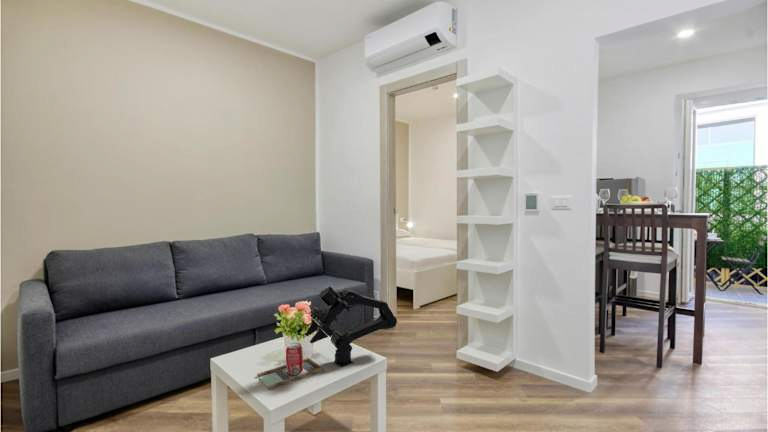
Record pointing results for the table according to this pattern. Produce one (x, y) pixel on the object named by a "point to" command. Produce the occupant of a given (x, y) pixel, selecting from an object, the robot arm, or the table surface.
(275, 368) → the trap lane
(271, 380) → the pad
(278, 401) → the table surface
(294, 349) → the soda can
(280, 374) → the trap strips
